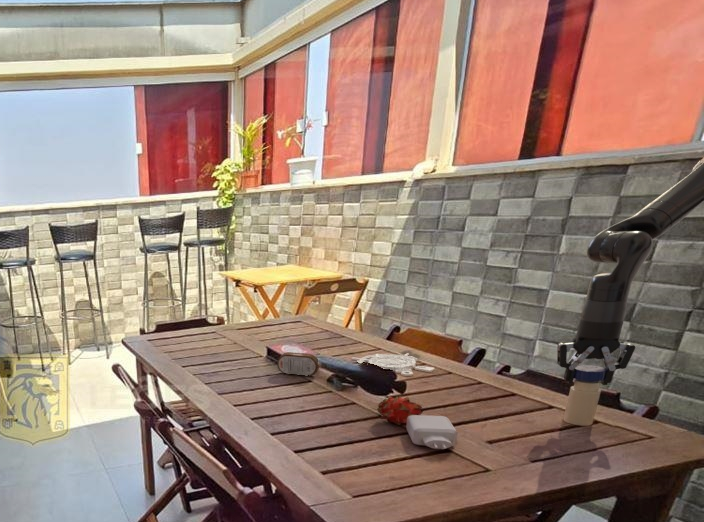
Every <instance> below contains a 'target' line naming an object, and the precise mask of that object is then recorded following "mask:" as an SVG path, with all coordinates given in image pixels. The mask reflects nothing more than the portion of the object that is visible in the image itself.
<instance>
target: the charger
mask: <svg viewBox="0 0 704 522" xmlns="http://www.w3.org/2000/svg"><path fill="white" fill-rule="evenodd" d="M405 429H406V431H407V433H408V436H409V438H410V440H411V442H412V444H413V445H416V446H426V447H429V448H431V449H437V450H445V449H448V448H452V447H454V446H456V444H457V439H458V431H457V429H456V428H455V427H454V425H453V424H452V422H451V420H450V419H449V418H448V417H447V416H444V415H423V414H421V415H411V416H408V418H407V424H406V427H405Z"/></svg>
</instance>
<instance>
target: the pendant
mask: <svg viewBox="0 0 704 522" xmlns="http://www.w3.org/2000/svg"><path fill="white" fill-rule="evenodd" d="M408 355H409V356H408ZM351 361H356V363H357V362H358V363H363V362H365V363H366V362H367V364H368V363H370V364H374V365H377V366H379V367H381V368H383V369H390V370H393V371H392V372H394V373H395V374H401V376H404V377H412V376H413V375H414V372H413V370H415V371H419V372H425V373H432V372H434V371H435V369H436V368H435V367H433V366H423V365H416V364H417V362H418V361H419V359H418V358H417V357H415V356H412V355H410V353H409V352H407V353H405V354H398V353H397V354H395V353H375V354H371V355H366V356H363V357H351ZM358 363H357V364H358ZM363 364H364V363H363Z"/></svg>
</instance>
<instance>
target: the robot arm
mask: <svg viewBox="0 0 704 522" xmlns="http://www.w3.org/2000/svg"><path fill="white" fill-rule="evenodd" d="M702 203H704V157H702V158H701V159H700V160H699V161H698V162H697V163H696V164H695V165H694V166H693V168H692V169H691V172H690V173H689V174H688V175H687V176H685V177H684V178H682V179H681V180H680V181H678V182H677V183H676V184H673V186H672V187H670V188H669V189H667V190H666V191H665V192H663V193H662V194H660V195H659V196H658V197H656V198H655V199H654V200H652V201H651V202H650V203H648V204H647V205H645V206H644V207H643V208H642V209H640V210H639V211H637V212H636V213H635V214H634V215H632V216H630V217H628V218H626V219H623V220H622V221H619V222H616V223H615V224H613V225H611V226H609V227H606V228H605V229H603V230H602V231H600V232H598V233H597V234H596V235H595V236H594V237H593V238H592V239H591V240H590V241H589V243H588V245H587V248H586V256H587V257H588V259H589V260H590V261H593V262H595V263H604V264H616V266H615V267H614V269H612V270H611V271H610V272H603V273H598V274H595V275H593V276H592V277H591V279H590V281H589V285H588V289H587V293H586V298H585V301H584V304H583V306H582V310H581V313H580V314H579V316H580V318H579V321H578V322H579V323H578V327H577V332H576V335H575V339H574V340H573V341H572V342H562V341H561V342H558V343H557V351H556V352H557V353H556V356H557V357H556V358H557V359H556V364H557V365H558V366H560V367H561V368H564V369H565V370H564V374H563V379H564V381H565V382H566V383H567V384H569V385H573V384H574V383H573V382H574V380H575V379H574V375H575V370H574V369H575V368H576V367H577V366H578V365H581V363H583V362H584V360H592V359H595V360H601V361H602V363H603V364H604V368H605V369H606V374H605V378H604V380H602V381H600V385H602V386H608V384H611V383H612V380H613V376H614V373H615V371H616V370H620V369H621V370H624V369H626V368H627V367H628V365H629V362H630V360H631V358H632V356H633V354H634V352H635V350H636V346H635V344H632V343H630V342H626V343H624V342H623V343H622V342H621V341H620V337H621V333H622V329H623V325H624V321H625V318H626V313H627V308H628V298H629V295H630V291H631V287H632V284H633V281H634V279H635V278H636V276H637V275H638V273H639V271H640V269H641V268H642V266H643V265H644V263H645V261H646V260H647V259H648V257H649V256H650V254H651V251H652V249H653V246H654V245H653V244H654V242H653V240H654V239H657V238H659V237H661V236H662V235H664V234H665V233H667V232H668V231H670V230H671V229H673V227H675V226H676V225H677V224H679V223H680V222H681V221H682V220H684V219H685V218H686V217H687V216H689V215H690V214H691V213H692V212H693V211H694V210H695V209H697V208H698V207H699V206H700V205H701V204H702ZM572 348H573V349H574V350H575V353H573V355H572V356H571V358H570V359H569V360H568V362H567V359H568V357H567V355H568V352H570V351H571V349H572ZM618 349H619V352H620V353H619V355H618V358H617V360H616V362H614V359H613V356H612V353H614V352H615V351H617V350H618Z"/></svg>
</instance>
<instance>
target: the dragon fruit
mask: <svg viewBox="0 0 704 522" xmlns="http://www.w3.org/2000/svg"><path fill="white" fill-rule="evenodd" d="M376 411H377V412H378V413H379V415H378V418H379V419H381V420H386V421H387V423H389V424H390V423H394V424H395V425H397V426H400V425H401V424H406V425H407V418H408V416H411V415H423V412H424V411H425V409H424V408H423V406H422V405H421V404H419V403H416V402H414V401H411V400H410V397H408V396H406V397H404V398H402V396H401V395H398V396H397V395H396V396H394V397H392V396H391V395H389V396H387V398H384V399H383V400H382V401H380V402H379V403H378V407H377V408H376Z"/></svg>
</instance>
